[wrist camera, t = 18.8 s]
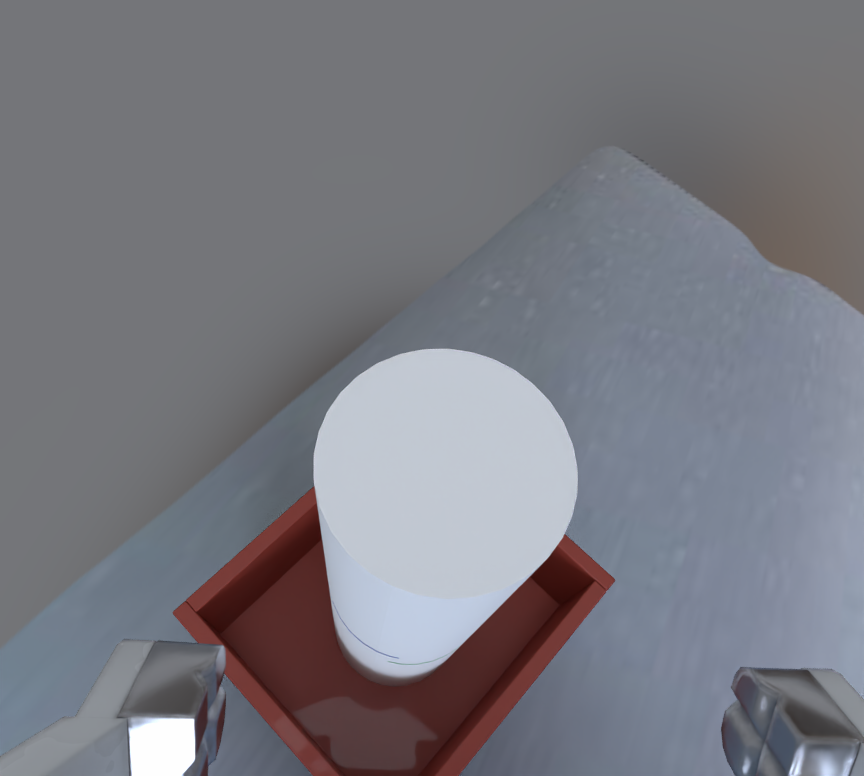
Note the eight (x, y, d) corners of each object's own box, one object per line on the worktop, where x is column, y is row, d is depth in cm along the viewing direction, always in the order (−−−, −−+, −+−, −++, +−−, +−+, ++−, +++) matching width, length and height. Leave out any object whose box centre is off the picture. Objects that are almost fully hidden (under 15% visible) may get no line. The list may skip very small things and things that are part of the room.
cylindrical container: (367, 540, 43) (382, 312, 21) (475, 588, 42) (608, 407, 20) (312, 653, 40) (262, 526, 18) (428, 708, 39) (527, 648, 17)
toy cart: (452, 419, 52) (475, 342, 42) (607, 559, 48) (672, 509, 38) (212, 644, 43) (171, 612, 33) (379, 835, 39) (388, 862, 30)
